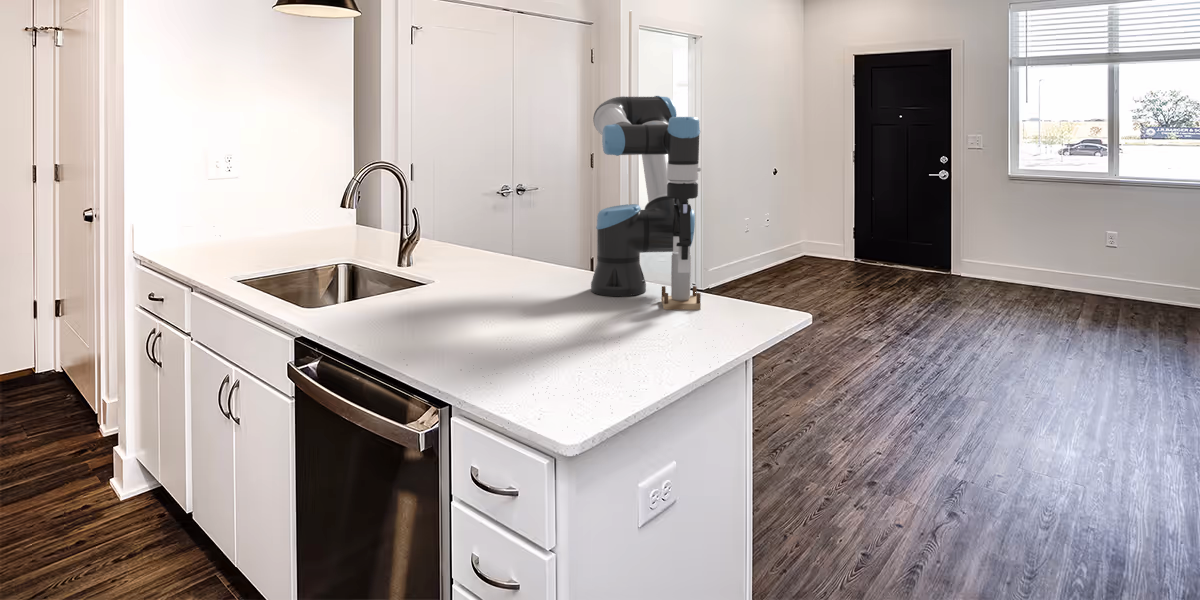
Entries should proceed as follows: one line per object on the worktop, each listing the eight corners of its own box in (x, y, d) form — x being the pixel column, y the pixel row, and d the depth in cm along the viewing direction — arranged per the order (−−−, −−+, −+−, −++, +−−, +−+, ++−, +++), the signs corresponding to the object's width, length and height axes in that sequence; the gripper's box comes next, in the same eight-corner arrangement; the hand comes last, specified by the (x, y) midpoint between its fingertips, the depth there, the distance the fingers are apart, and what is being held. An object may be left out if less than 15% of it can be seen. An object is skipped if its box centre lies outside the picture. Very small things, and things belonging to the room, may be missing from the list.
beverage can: (675, 302, 190) (675, 254, 188) (668, 298, 195) (668, 251, 192) (693, 300, 192) (694, 253, 189) (685, 296, 196) (686, 250, 193)
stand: (664, 309, 189) (664, 293, 188) (661, 301, 198) (661, 286, 197) (700, 309, 189) (700, 293, 188) (696, 301, 198) (696, 286, 197)
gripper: (704, 186, 174) (702, 277, 180) (692, 176, 199) (690, 257, 204) (671, 186, 174) (670, 277, 180) (663, 177, 199) (662, 257, 204)
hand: (680, 266), depth 192 cm, fingers open, 13 cm apart
